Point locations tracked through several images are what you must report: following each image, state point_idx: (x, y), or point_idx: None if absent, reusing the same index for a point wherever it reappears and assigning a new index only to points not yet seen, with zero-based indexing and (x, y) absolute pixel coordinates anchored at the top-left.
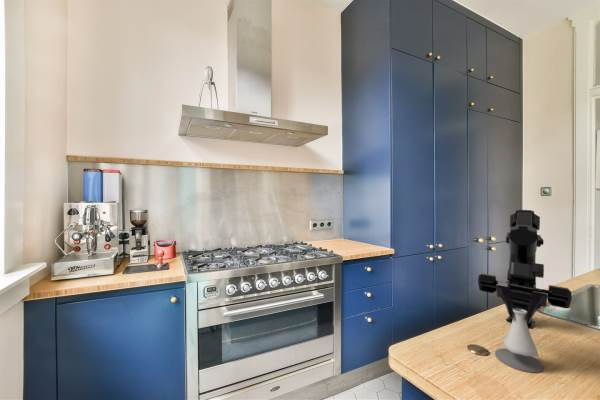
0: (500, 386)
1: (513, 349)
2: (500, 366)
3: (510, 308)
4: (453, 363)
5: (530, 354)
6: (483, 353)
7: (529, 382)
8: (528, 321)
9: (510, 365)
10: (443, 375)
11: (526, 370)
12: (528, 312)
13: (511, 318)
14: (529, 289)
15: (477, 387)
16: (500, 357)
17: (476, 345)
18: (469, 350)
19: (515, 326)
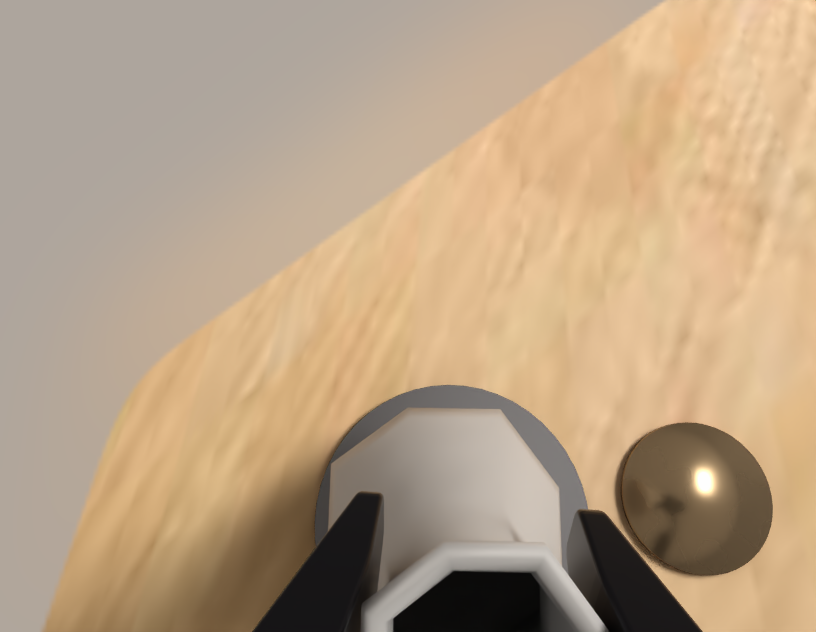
0: (532, 157)
1: (491, 415)
2: (544, 361)
3: (648, 625)
4: (774, 216)
5: (382, 429)
6: (654, 456)
7: (406, 286)
8: (369, 492)
9: (494, 396)
10: (778, 75)
11: (411, 395)
12: (346, 595)
13: (572, 537)
14: None
15: (622, 83)
16: (552, 468)
17: (719, 563)
18: (741, 445)
19: (506, 507)
